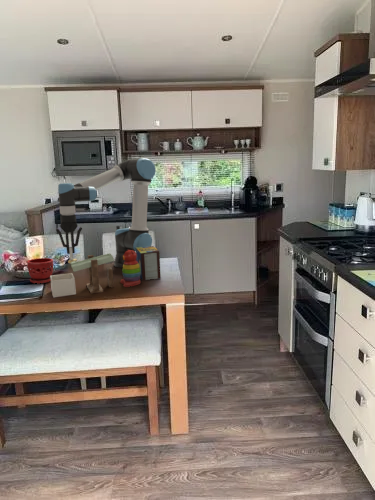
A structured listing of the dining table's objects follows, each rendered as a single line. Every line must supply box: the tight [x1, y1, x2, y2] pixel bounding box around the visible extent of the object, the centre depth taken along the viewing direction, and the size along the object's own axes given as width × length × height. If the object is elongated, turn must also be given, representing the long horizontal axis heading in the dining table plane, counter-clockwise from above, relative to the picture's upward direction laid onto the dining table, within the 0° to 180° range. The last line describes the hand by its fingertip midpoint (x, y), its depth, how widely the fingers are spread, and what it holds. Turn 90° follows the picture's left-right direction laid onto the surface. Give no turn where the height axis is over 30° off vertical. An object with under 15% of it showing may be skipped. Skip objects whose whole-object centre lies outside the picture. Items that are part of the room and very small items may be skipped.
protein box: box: [135, 245, 162, 281], centre depth 209 cm, size 10×15×16 cm
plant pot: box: [26, 257, 54, 285], centre depth 205 cm, size 13×13×12 cm
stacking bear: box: [119, 250, 142, 288], centre depth 197 cm, size 11×10×18 cm
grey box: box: [50, 272, 77, 298], centre depth 185 cm, size 11×11×8 cm
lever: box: [67, 253, 115, 272], centre depth 193 cm, size 21×18×3 cm
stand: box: [85, 254, 115, 294], centre depth 191 cm, size 12×15×16 cm
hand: (71, 259), depth 196 cm, fingers closed
